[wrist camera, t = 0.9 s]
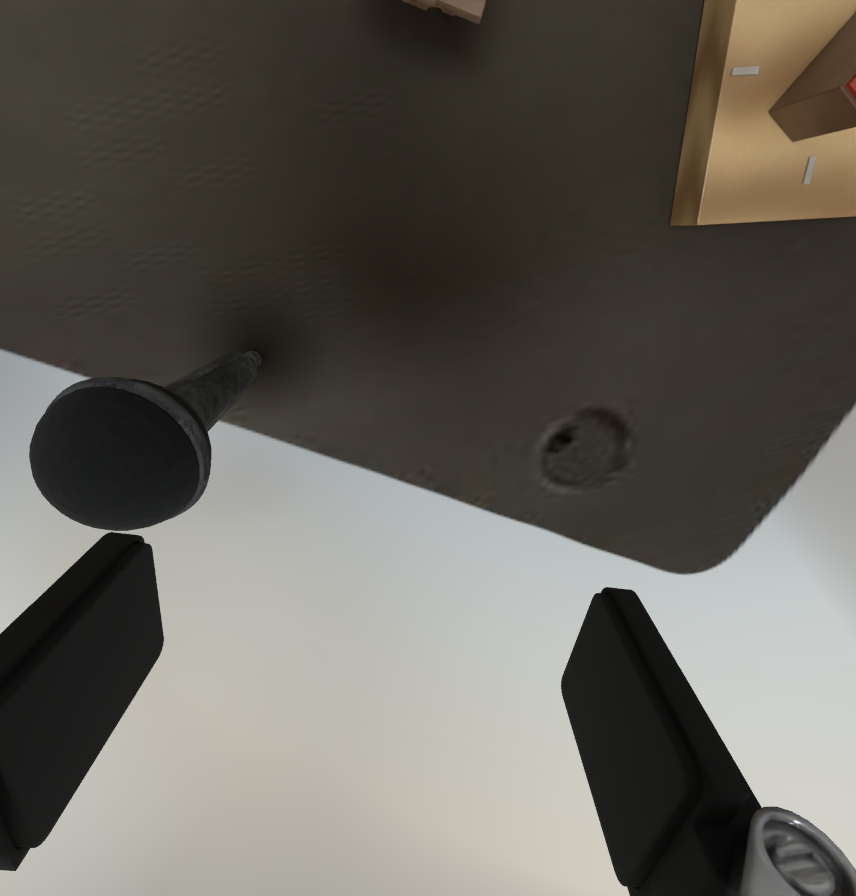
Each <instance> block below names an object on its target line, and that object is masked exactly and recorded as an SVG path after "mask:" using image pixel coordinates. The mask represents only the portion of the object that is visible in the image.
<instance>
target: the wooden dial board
mask: <svg viewBox="0 0 856 896" xmlns="http://www.w3.org/2000/svg"><path fill="white" fill-rule="evenodd" d="M855 12H856V0H705V1H704V8H703V14H702V21H701V27H700V34H699V40H698V46H697V53H696V59H695V66H694V72H693V79H692V85H691V92H690V98H689V105H688V111H687V118H686V124H685V131H684V137H683V144H682V150H681V157H680V163H679V170H678V176H677V183H676V189H675V196H674V202H673V209H672V215H671V222H670V225H671V226H685V225H712V224H730V223H747V222H765V221H783V220H801V219H819V218H836V217H854V216H856V127H855V128H850V129H846V130H842V131H838V132H833V133H829V134H825V135H821V136H816V137H812V138H808V139H804V140H799V141H795V142H793V141H792V140H791V139H790V137H789V136H788V135H787V134H786V133H785V131H784V130H783V129H782V128H781V127H780V125H779V124H778V123H777V122H776V120H775V119H774V118H773V117H772V116H771V114H770V113H769V110H770V109H771V108H772V107H773V106H774V105H775V104H776V103H777V101H778V100H779V99H780V98H781V97H782V96H783V95H784V93H785V92H786V91H787V90H788V89H789V88H790V87H791V85H792V84H793V83H794V82H795V81H796V80H797V79H798V77H799V76H800V75H801V74H802V73H803V72H804V71H805V69H806V68H807V67H808V66H809V65H810V64H811V63H812V61H813V60H814V59H815V58H816V57H817V56H818V55H819V54H820V52H821V51H822V50H823V49H824V48H825V47H826V46H827V44H828V43H829V42H830V41H831V40H832V39H833V38H834V36H835V35H836V34H837V33H838V32H839V31H840V30H841V28H842V27H843V26H844V25H845V24H846V23H847V22H848V20H849V19H850V18H851V17H852V16H853V15H854V14H855Z"/></svg>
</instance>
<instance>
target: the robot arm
mask: <svg viewBox="0 0 856 896" xmlns="http://www.w3.org/2000/svg"><path fill="white" fill-rule="evenodd" d="M163 642H164V636H163V629H162V622H161V613H160V606H159V598H158V590H157V583H156V576H155V567H154V560H153V552H152V547H151V545H150V544H146V543H145V542H144V539H143V538H142V536H139V535H131V534H122V533H113V532H111V533H107V534H106V535H104V536H103V537H102V538H101V539H100V540H99V541H98V542H97V543H96V544H94V545H93V547H91V548H90V549H89V550H88V551H87V552H86V553H85V554H84V555H83V556H82V557H81V558H80V559H79V560H78V561H77V562H76V563H75V564H74V565H72V566H71V567H70V568H69V569H68V570H67V571H66V572H65V573H64V574H63V575H62V576H61V577H60V578H59V579H58V580H57V581H56V582H55V583H54V584H53V585H52V586H51V587H49V588H48V589H47V591H45V592H44V593H43V594H42V595H41V596H40V597H39V598H38V599H37V600H36V601H35V602H34V603H33V604H31V605H30V606H29V607H28V608H27V609H26V610H25V611H24V612H23V613H22V614H21V615H20V616H19V617H18V618H17V619H16V620H15V621H13V623H11V624H10V625H9V626H8V627H7V628H6V629H5V630H4V631H3V632H2V633H1V634H0V870H9V871H16V870H17V868H18V867H19V865H20V863H21V862H22V860H23V859H24V857H25V856H26V854H27V853H28V851H29V849H30V848H35V847H38V846H39V845H41V844H42V842H43V841H44V840H45V839H46V838H47V836H48V835H49V833H50V832H51V830H52V829H53V827H54V825H55V824H56V822H57V821H58V819H59V817H60V816H61V814H62V813H63V811H64V809H65V808H66V806H67V804H68V803H69V801H70V800H71V798H72V796H73V795H74V793H75V791H76V790H77V788H78V787H79V785H80V783H81V782H82V780H83V779H84V777H85V775H86V774H87V772H88V771H89V769H90V767H91V766H92V764H93V763H94V761H95V759H96V758H97V756H98V754H99V753H100V751H101V750H102V748H103V746H104V745H105V743H106V742H107V740H108V738H109V737H110V735H111V733H112V731H113V730H114V729H115V727H116V725H117V724H118V722H119V721H120V719H121V717H122V715H123V714H124V712H125V711H126V709H127V708H128V706H129V704H130V703H131V701H132V700H133V698H134V696H135V695H136V693H137V691H138V690H139V688H140V687H141V685H142V683H143V682H144V680H145V679H146V677H147V675H148V674H149V672H150V671H151V669H152V667H153V666H154V664H155V662H156V661H157V659H158V657H159V656H160V653H161V651H162V647H163ZM561 689H562V696H563V699H564V703H565V706H566V709H567V713H568V716H569V719H570V723H571V726H572V729H573V733H574V736H575V739H576V743H577V746H578V750H579V753H580V756H581V760H582V763H583V767H584V770H585V773H586V777H587V780H588V783H589V786H590V790H591V793H592V796H593V800H594V803H595V807H596V810H597V814H598V816H599V820H600V823H601V827H602V830H603V834H604V837H605V840H606V844H607V847H608V850H609V854H610V857H611V861H612V864H613V867H614V871H615V873H616V876H617V878H618V880H619V882H620V883H621V884H622V885H623V886H627V887H628V890H629V894H630V896H856V870H855V868H854V867H853V866H852V864H851V863H850V862H849V860H848V859H847V857H846V856H845V855H844V854H843V852H842V851H841V850H840V849H839V848H838V847H837V846H836V845H835V844H834V843H833V841H831V839H829V837H828V836H827V835H826V834H825V833H823V832H822V831H821V830H819V829H818V828H817V827H816V826H814V825H813V824H812V823H810V822H809V821H808V820H806V819H804V818H802V817H801V816H799V815H797V814H795V813H793V812H792V811H789V810H785V809H782V808H779V807H763V808H761V806H760V804H759V802H758V801H757V799H756V797H755V796H754V794H753V792H752V790H751V789H750V787H749V785H748V784H747V782H746V780H745V778H744V777H743V775H742V773H741V772H740V770H739V768H738V766H737V765H736V763H735V761H734V760H733V758H732V756H731V754H730V753H729V751H728V749H727V748H726V746H725V744H724V742H723V741H722V739H721V737H720V736H719V734H718V732H717V730H716V729H715V727H714V725H713V724H712V722H711V720H710V719H709V717H708V715H707V713H706V712H705V710H704V708H703V707H702V705H701V703H700V701H699V700H698V698H697V696H696V695H695V693H694V691H693V690H692V688H691V686H690V684H689V683H688V681H687V679H686V677H685V676H684V674H683V672H682V671H681V669H680V668H679V666H678V664H677V663H676V661H675V659H674V657H673V656H672V654H671V652H670V651H669V649H668V647H667V645H666V644H665V642H664V640H663V638H662V637H661V635H660V634H659V632H658V630H657V628H656V626H655V625H654V623H653V621H652V620H651V618H650V616H649V614H648V613H647V611H646V609H645V608H644V606H643V604H642V603H641V601H640V599H639V597H638V596H637V594H636V593H635V592H634V591H632V590H627V589H617V588H609V587H607V588H604V589H603V590H602V591H601V593H596V594H595V595H594V597H593V599H592V601H591V604H590V606H589V609H588V611H587V614H586V617H585V619H584V622H583V624H582V627H581V630H580V632H579V635H578V637H577V640H576V643H575V645H574V648H573V651H572V653H571V656H570V658H569V661H568V663H567V666H566V668H565V671H564V674H563V676H562V681H561Z"/></svg>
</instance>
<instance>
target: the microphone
mask: <svg viewBox="0 0 856 896" xmlns="http://www.w3.org/2000/svg"><path fill="white" fill-rule="evenodd" d="M261 361H262V359H261V356H260V355H259V353H257V352H255V351H248V352H246V353H245V354H244V353H241V352H230V353H227V354H225V355H224V356H222V357H220V358H218V359H216V360H214V361H212V362H210V363H209V364H207V365H205V366H203V367H201V368H199V369H197V370H196V371H194V372H192V373H190V374H188V375H186V376H184V377H182V378H181V379H179V380H177V381H175V382H173V383H171V384H169V385H168V386H166V387H161V386H158V385H156V384H153V383H150V382H147V381H142V380H136V379H125V378H116V377H103V378H93V379H88V380H84V381H80V382H78V383H75V384H73V385H71V386H70V387H68V388H66V389H65V390H63V391H62V392H61V393H60V394H59V395H58V396H57V397H56V398H55V399H54V400H53V401H52V403H51V404H50V405H49V407H48V408H47V410H46V412H45V414H44V415H43V417H42V418H41V419H40V421H39V422H38V424H37V425H36V428H35V431H34V434H33V437H32V441H31V444H30V454H29V457H30V463H31V469H32V475H33V478H34V480H35V482H36V485H37V487H38V488H39V490H40V491H41V493H42V495H43V496H44V497H45V498H46V499H47V500H48V501H49V503H50V504H51V505H52V506H54V507H55V508H56V509H57V510H58V511H60V512H61V513H62V514H64V515H65V516H67V517H69V518H70V519H72V520H74V521H76V522H79V523H81V524H84V525H87V526H90V527H93V528H99V529H105V530H115V531H128V530H134V529H139V528H145V527H149V526H153V525H155V524H158V523H161V522H163V521H165V520H168V519H171V518H173V517H175V516H177V515H179V514H181V513H183V512H185V511H186V510H188V509H189V508H191V507H192V506H193V505H194V504H195V503H196V502H197V501H198V500H199V498H200V497H201V496H202V494H203V492H204V490H205V488H206V486H207V483H208V479H209V475H210V467H211V445H210V440H209V436H208V431H209V430H210V429H211V428H212V427H213V426H214V425H215V423H216V422H217V421H218V420H219V419H220V418H221V417H222V416H223V415H224V414H225V413H226V412H227V411H228V410H229V409H230V408H231V407H232V406H233V404H234V403H235V402H236V401H237V400H238V399H239V398H240V397H241V396H242V395H243V394H244V393H245V392H246V391H247V390H248V389H249V388H250V387H251V385H252V384H253V383H254V382H255V381H256V379H257V374H258V371H257V367H259V366H260V364H261Z"/></svg>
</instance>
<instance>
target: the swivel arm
mask: <svg viewBox="0 0 856 896" xmlns="http://www.w3.org/2000/svg"><path fill="white" fill-rule="evenodd" d="M769 113H770V114H771V116H772V117H773V118H774V119H775V120H776V122H777V123H778V124H779V125H780V127H781V128H782V129H783V130H784V131H785V133H786V134H787V135H788V136H789V137H790V139H791V140H792V141H793V142H795V141H799V140H804V139H808V138H812V137H816V136H821V135H825V134H829V133H833V132H838V131H842V130H846V129H850V128H855V127H856V12H855V14H854V15H853V16H852V17H851V18H850V19H849V20H848V22H847V23H846V24H845V25H844V26H843V27H842V28H841V30H840V31H839V32H838V33H837V34H836V35H835V36H834V38H833V39H832V40H831V41H830V42H829V43H828V44H827V46H826V47H825V48H824V49H823V50H822V51H821V52H820V54H819V55H818V56H817V57H816V58H815V59H814V60H813V61H812V63H811V64H810V65H809V66H808V67H807V68H806V69H805V71H804V72H803V73H802V74H801V75H800V76H799V77H798V79H797V80H796V81H795V82H794V83H793V84H792V85H791V87H790V88H789V89H788V90H787V91H786V92H785V93H784V95H783V96H782V97H781V98H780V99H779V100H778V101H777V103H776V104H775V105H774V106H773V107H772V108H771V109H770V110H769Z"/></svg>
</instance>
